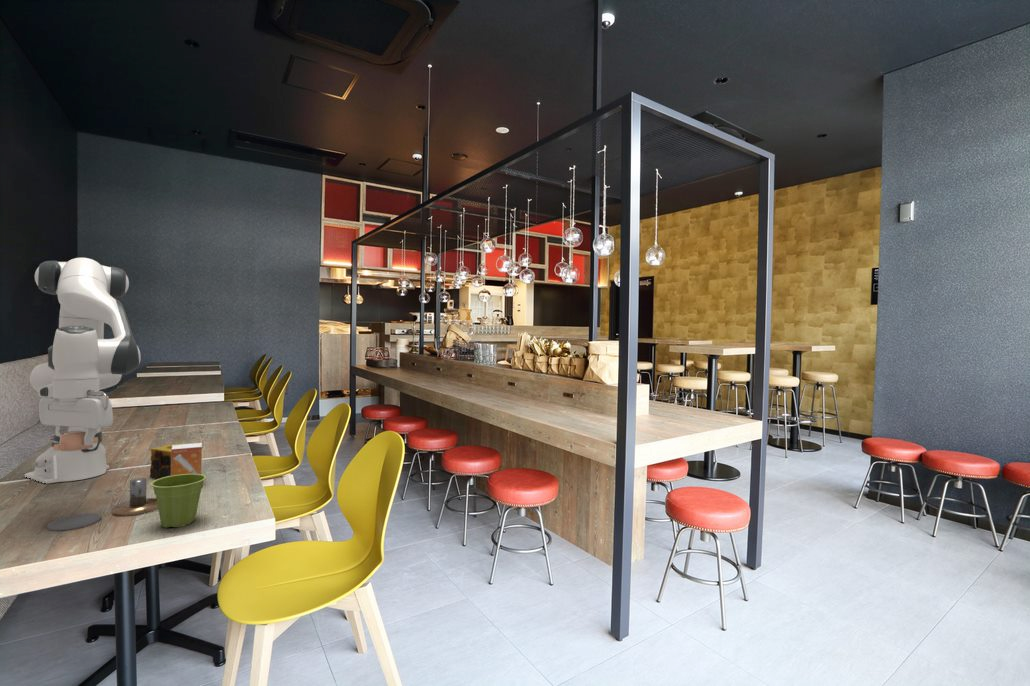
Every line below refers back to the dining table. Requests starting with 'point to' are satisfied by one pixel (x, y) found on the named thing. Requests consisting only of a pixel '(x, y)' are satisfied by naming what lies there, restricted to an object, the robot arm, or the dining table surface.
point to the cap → (72, 441)
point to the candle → (161, 461)
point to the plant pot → (178, 498)
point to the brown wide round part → (136, 500)
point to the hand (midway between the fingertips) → (76, 443)
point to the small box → (186, 459)
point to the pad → (74, 521)
